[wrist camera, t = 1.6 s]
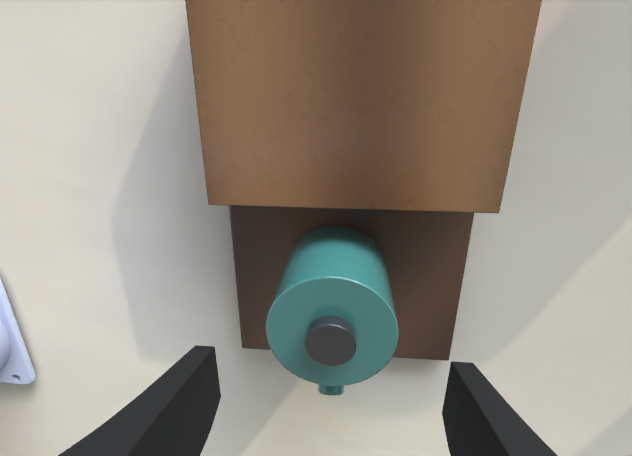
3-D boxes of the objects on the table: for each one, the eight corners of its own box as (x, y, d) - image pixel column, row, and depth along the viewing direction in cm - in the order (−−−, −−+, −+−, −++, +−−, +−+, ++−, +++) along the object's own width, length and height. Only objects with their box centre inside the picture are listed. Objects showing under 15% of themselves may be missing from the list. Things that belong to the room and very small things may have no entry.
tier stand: (245, 339, 20) (228, 382, 18) (212, -47, 14) (175, -82, 11) (445, 350, 20) (462, 398, 17) (513, -55, 13) (561, -95, 10)
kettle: (285, 223, 17) (257, 282, 12) (390, 226, 16) (407, 289, 11) (288, 339, 19) (267, 429, 14) (380, 344, 19) (391, 439, 14)
